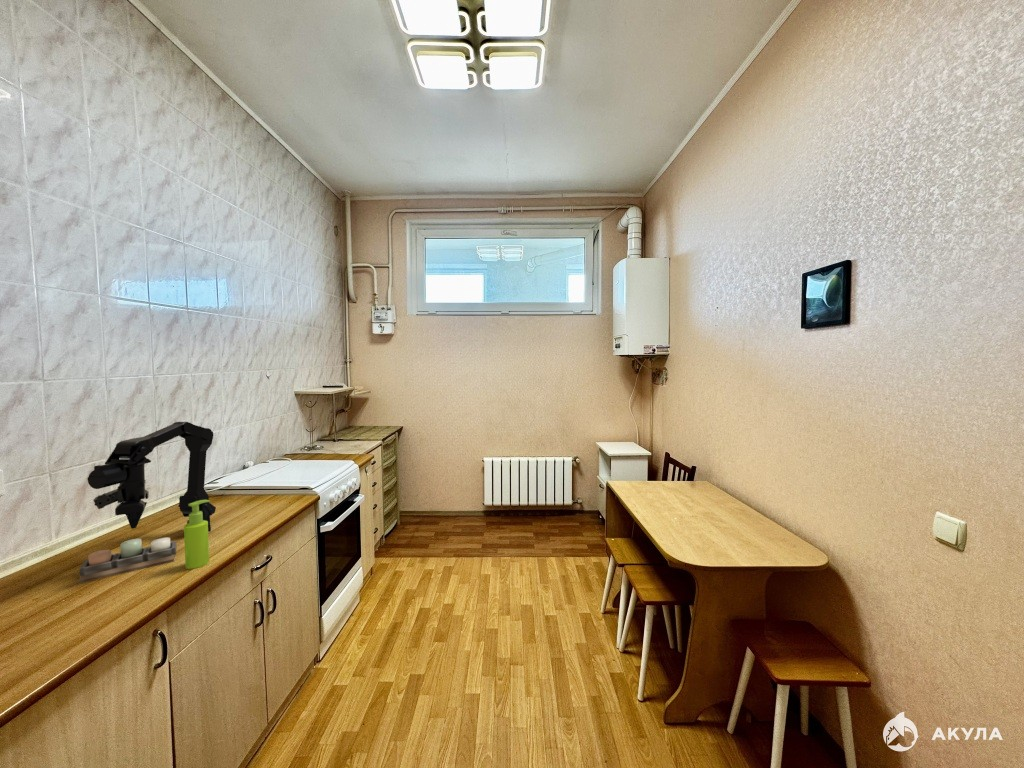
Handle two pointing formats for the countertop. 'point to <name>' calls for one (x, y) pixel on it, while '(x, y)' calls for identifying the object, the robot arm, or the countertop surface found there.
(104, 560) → the pink rounded block
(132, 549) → the pale green rounded block
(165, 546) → the white rounded block
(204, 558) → the soap dispenser
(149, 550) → the soap tray
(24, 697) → the countertop surface
